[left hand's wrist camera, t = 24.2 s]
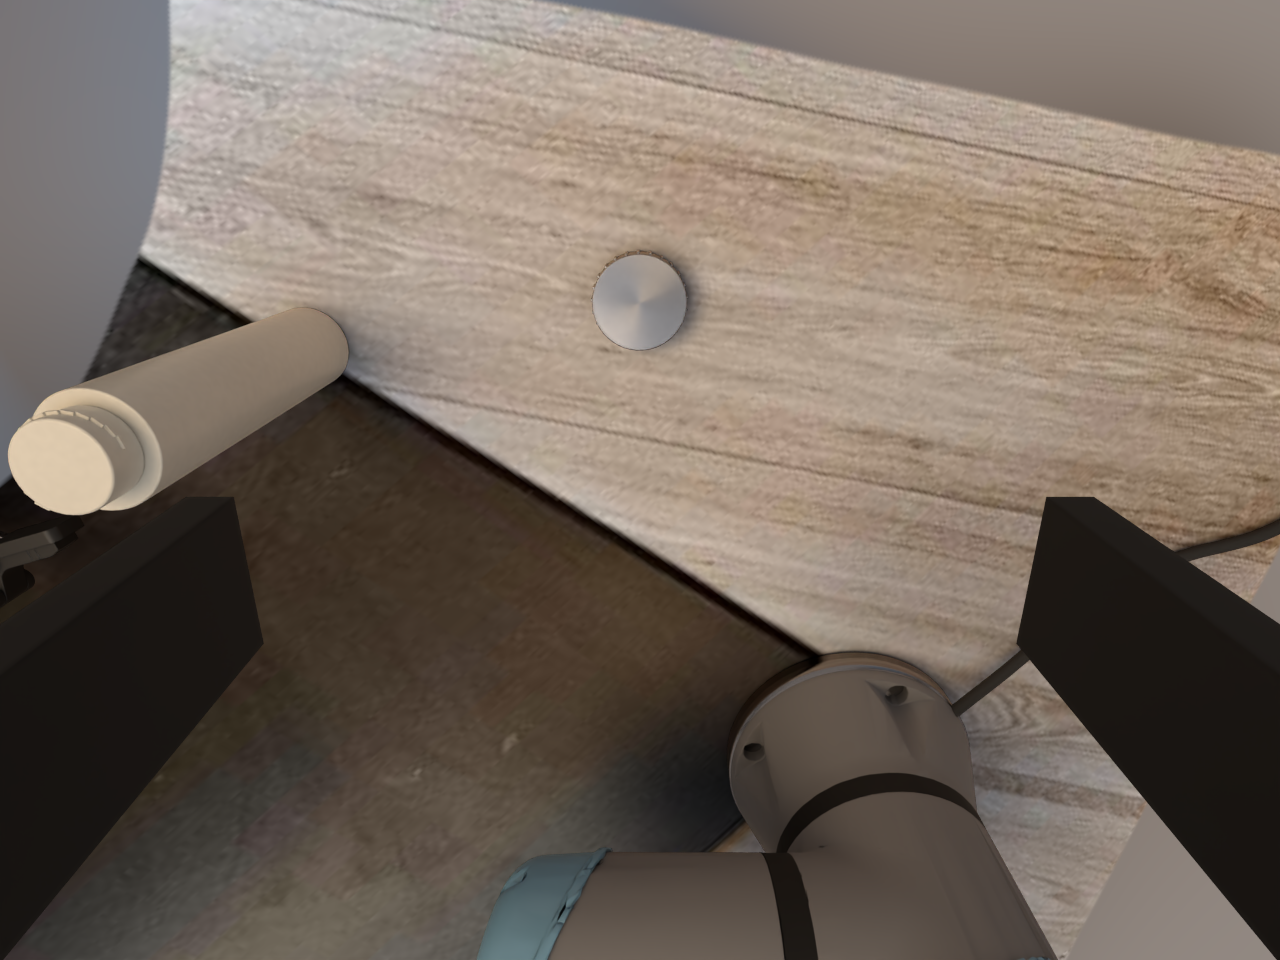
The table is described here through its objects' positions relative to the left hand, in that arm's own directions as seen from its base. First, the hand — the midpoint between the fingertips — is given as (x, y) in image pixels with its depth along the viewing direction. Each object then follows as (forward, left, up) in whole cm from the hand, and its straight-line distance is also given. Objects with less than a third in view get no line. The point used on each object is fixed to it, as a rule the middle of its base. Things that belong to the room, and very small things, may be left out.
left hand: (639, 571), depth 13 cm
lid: (0, 0, -28) cm, 28 cm away
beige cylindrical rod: (+17, -6, -30) cm, 35 cm away
